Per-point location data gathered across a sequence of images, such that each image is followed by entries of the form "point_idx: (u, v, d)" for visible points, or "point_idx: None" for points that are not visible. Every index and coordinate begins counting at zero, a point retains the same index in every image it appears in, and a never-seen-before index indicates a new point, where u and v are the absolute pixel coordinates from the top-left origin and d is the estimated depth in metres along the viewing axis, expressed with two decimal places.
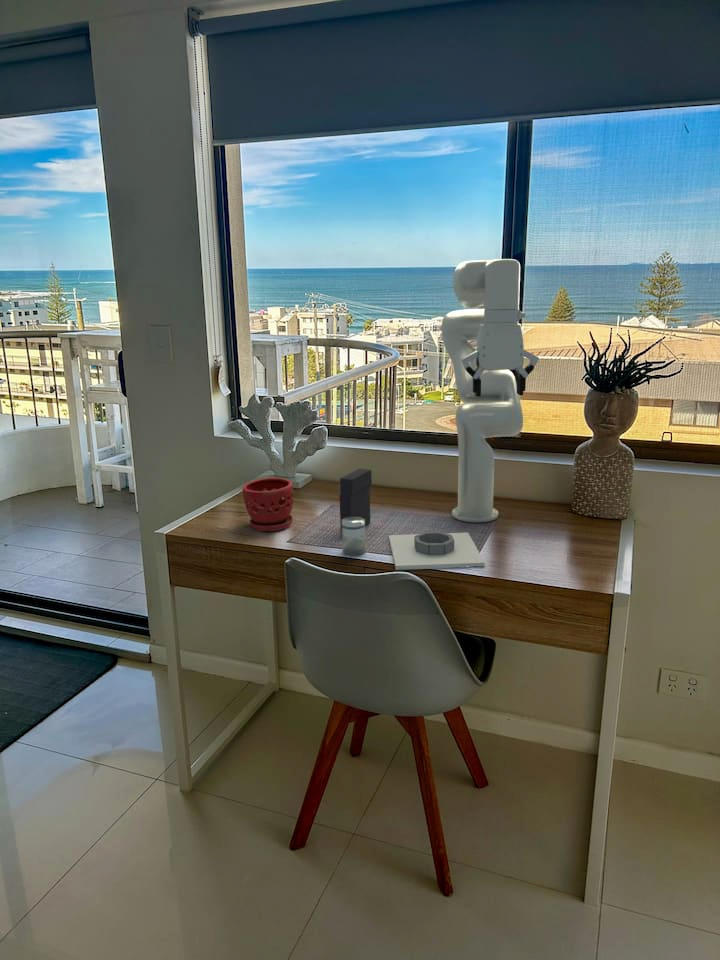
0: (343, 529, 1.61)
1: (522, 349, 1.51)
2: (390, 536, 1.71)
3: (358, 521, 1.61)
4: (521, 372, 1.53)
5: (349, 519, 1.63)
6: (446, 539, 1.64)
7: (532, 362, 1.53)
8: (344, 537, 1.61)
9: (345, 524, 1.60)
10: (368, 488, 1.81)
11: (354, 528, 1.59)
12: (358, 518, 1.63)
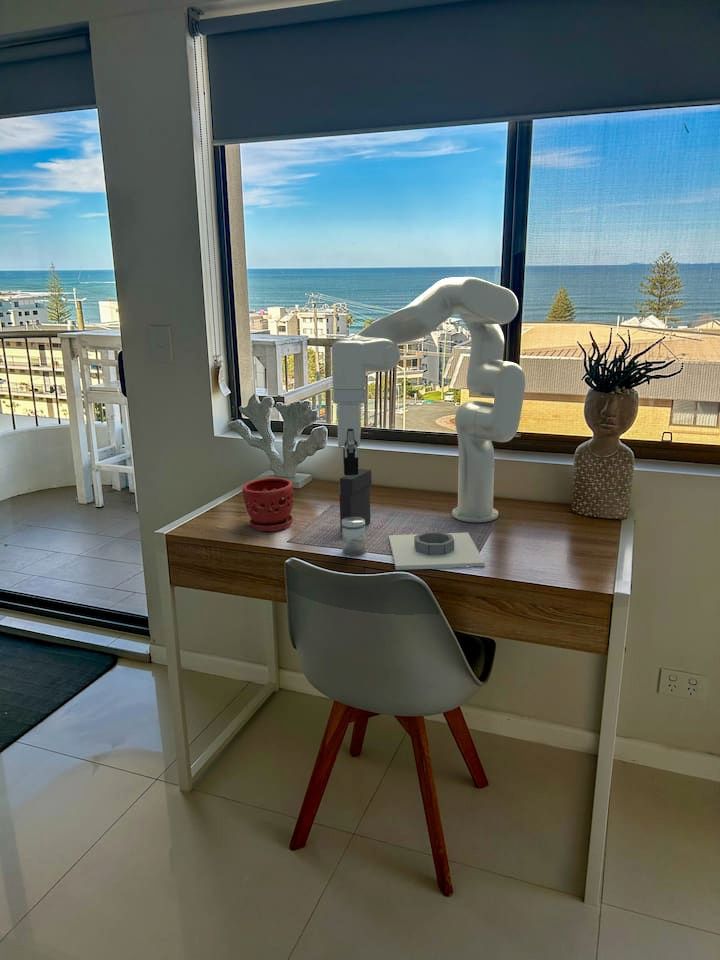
0: (343, 529, 1.61)
1: None
2: (390, 536, 1.71)
3: (358, 521, 1.61)
4: None
5: (349, 519, 1.63)
6: (446, 539, 1.64)
7: None
8: (344, 537, 1.61)
9: (345, 524, 1.60)
10: (368, 488, 1.81)
11: (354, 528, 1.59)
12: (358, 518, 1.63)
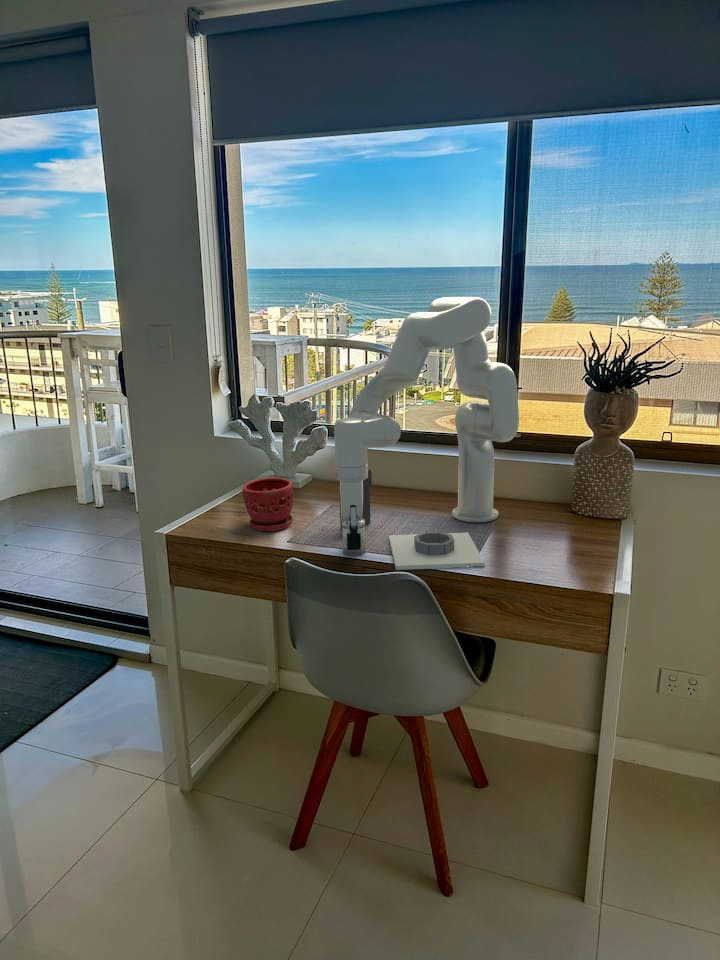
0: (343, 529, 1.61)
1: None
2: (390, 536, 1.71)
3: None
4: None
5: (349, 519, 1.63)
6: (446, 539, 1.64)
7: None
8: (344, 537, 1.61)
9: (345, 524, 1.60)
10: (368, 488, 1.81)
11: None
12: None
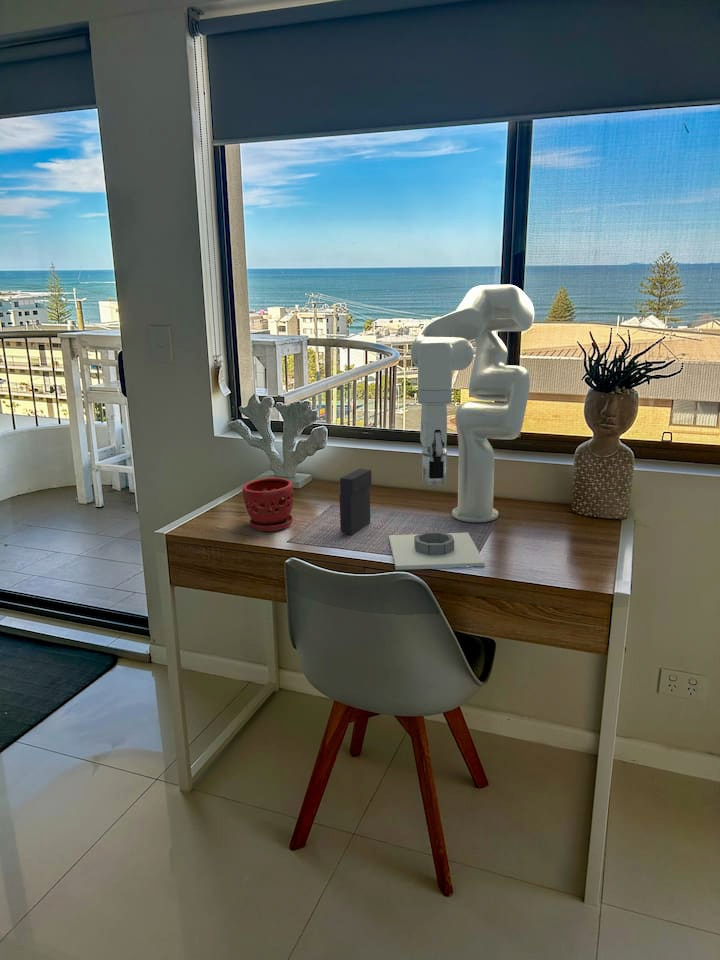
0: (424, 457, 1.55)
1: None
2: (390, 536, 1.71)
3: None
4: None
5: None
6: (446, 539, 1.64)
7: None
8: (425, 466, 1.55)
9: (428, 452, 1.54)
10: (368, 488, 1.81)
11: None
12: None
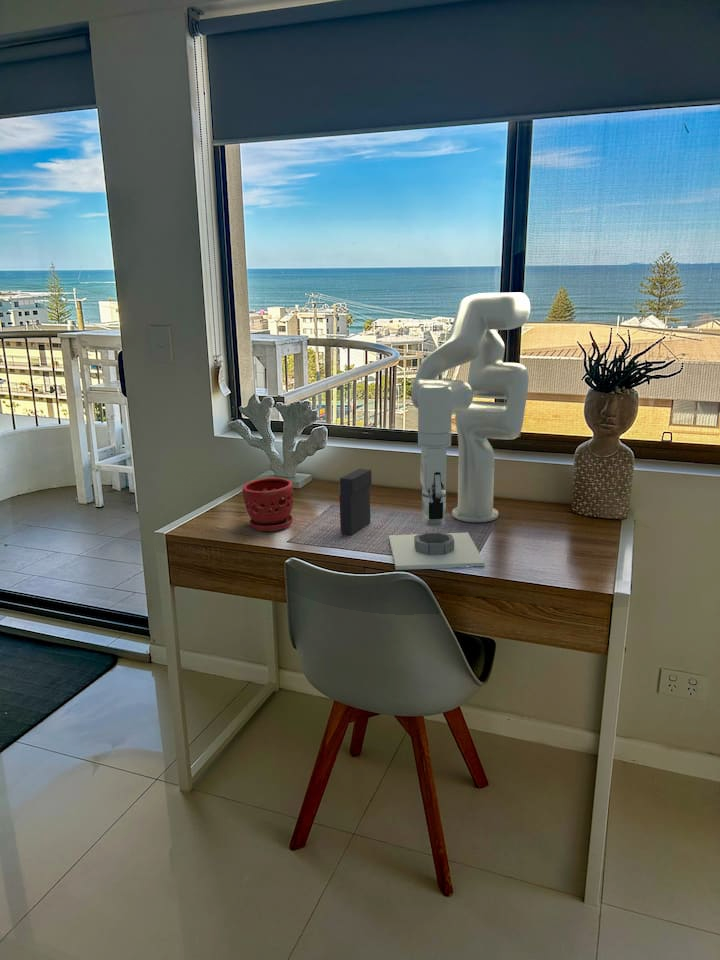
0: (424, 498, 1.57)
1: None
2: (390, 536, 1.71)
3: None
4: None
5: None
6: (446, 539, 1.64)
7: None
8: (425, 506, 1.58)
9: (427, 493, 1.56)
10: (368, 488, 1.81)
11: None
12: None
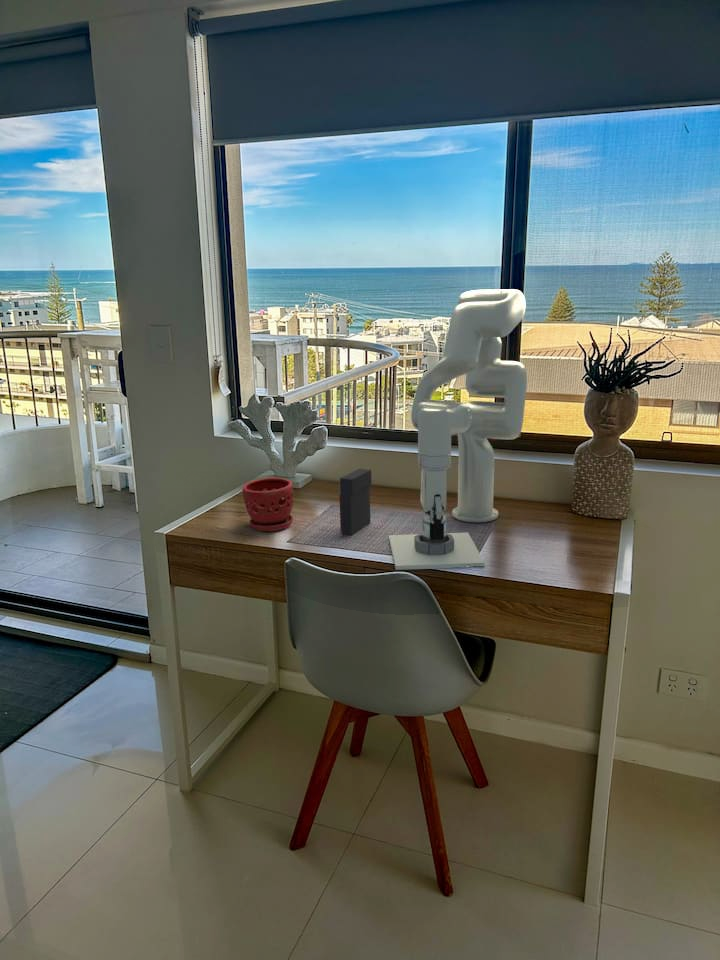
0: (425, 525, 1.59)
1: None
2: (390, 536, 1.71)
3: None
4: None
5: (430, 515, 1.61)
6: (446, 539, 1.64)
7: None
8: (425, 533, 1.60)
9: (428, 520, 1.58)
10: (368, 488, 1.81)
11: None
12: None
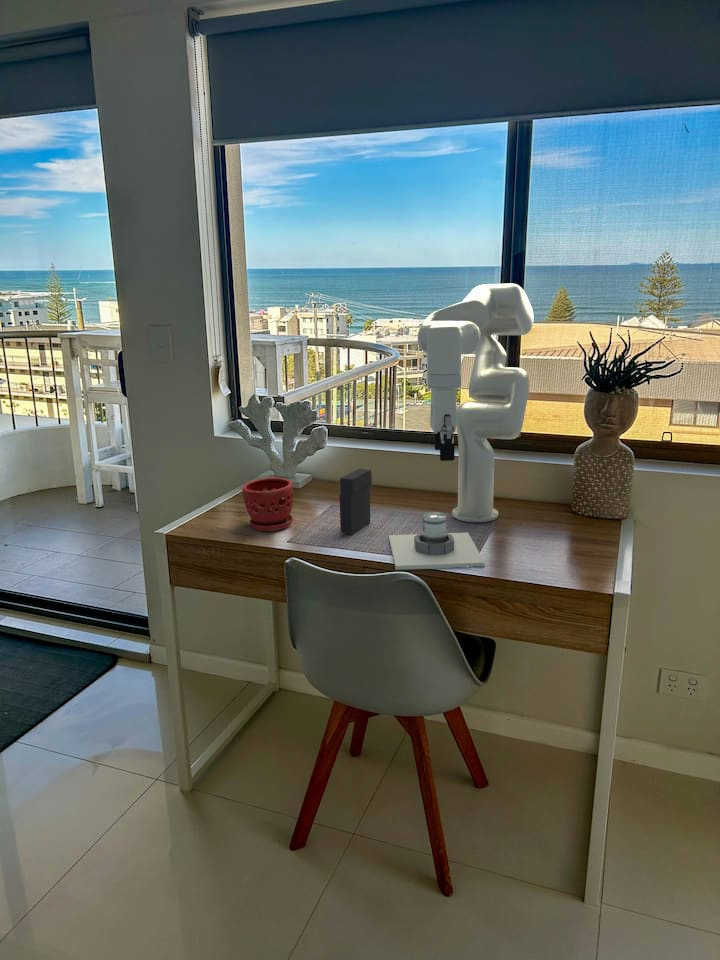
0: (425, 524, 1.59)
1: None
2: (390, 536, 1.71)
3: (440, 516, 1.60)
4: None
5: (430, 514, 1.61)
6: (446, 539, 1.64)
7: None
8: (426, 532, 1.60)
9: (428, 519, 1.58)
10: (368, 488, 1.81)
11: (437, 522, 1.58)
12: (438, 513, 1.62)
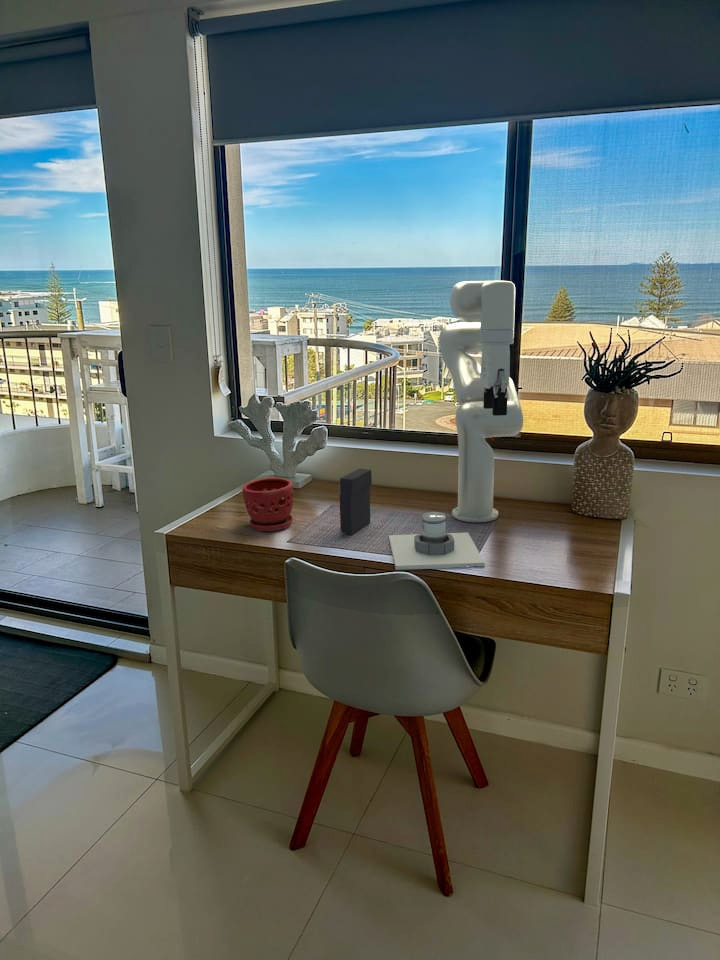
0: (425, 524, 1.59)
1: None
2: (390, 536, 1.71)
3: (439, 515, 1.60)
4: None
5: (429, 514, 1.61)
6: (446, 539, 1.64)
7: None
8: (426, 532, 1.60)
9: (428, 519, 1.58)
10: (368, 488, 1.81)
11: (437, 522, 1.58)
12: (437, 513, 1.62)
